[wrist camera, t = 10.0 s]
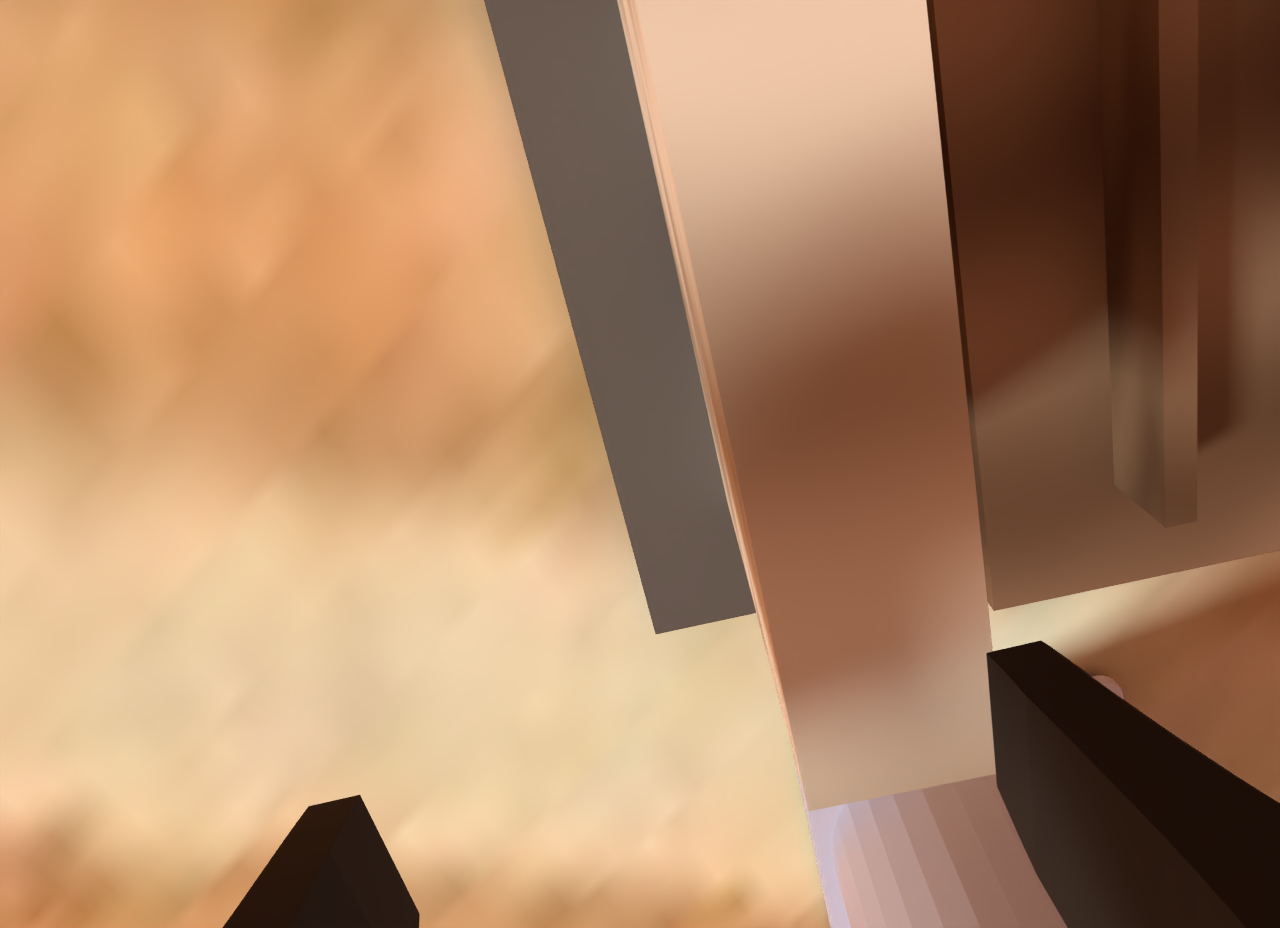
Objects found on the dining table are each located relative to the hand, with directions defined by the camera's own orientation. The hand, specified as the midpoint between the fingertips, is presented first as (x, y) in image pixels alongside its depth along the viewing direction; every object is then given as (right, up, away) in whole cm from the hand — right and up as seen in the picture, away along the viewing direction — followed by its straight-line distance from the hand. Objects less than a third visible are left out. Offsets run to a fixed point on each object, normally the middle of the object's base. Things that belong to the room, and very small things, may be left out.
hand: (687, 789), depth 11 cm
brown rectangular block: (+1, +8, +8) cm, 11 cm away
